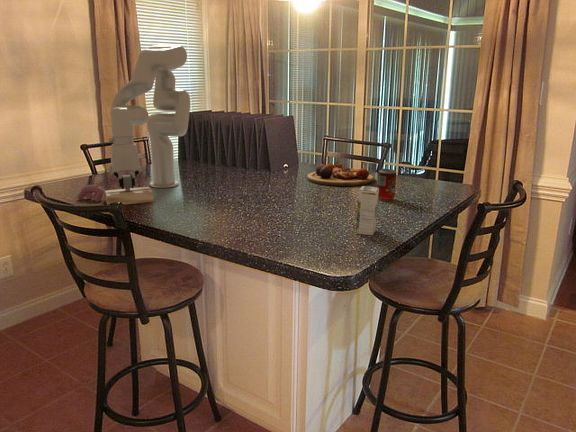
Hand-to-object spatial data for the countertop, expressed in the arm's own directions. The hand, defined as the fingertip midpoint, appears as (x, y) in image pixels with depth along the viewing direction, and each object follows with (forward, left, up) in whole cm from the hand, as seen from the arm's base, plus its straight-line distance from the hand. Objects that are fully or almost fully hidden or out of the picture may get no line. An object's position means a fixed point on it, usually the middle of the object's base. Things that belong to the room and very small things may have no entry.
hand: (127, 187), depth 187 cm
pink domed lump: (-8, -13, -6) cm, 16 cm away
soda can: (+38, +95, -6) cm, 103 cm away
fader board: (0, 0, -5) cm, 5 cm away
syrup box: (+70, +64, -6) cm, 95 cm away
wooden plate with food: (-3, +98, -6) cm, 99 cm away
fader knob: (0, 0, -1) cm, 1 cm away
